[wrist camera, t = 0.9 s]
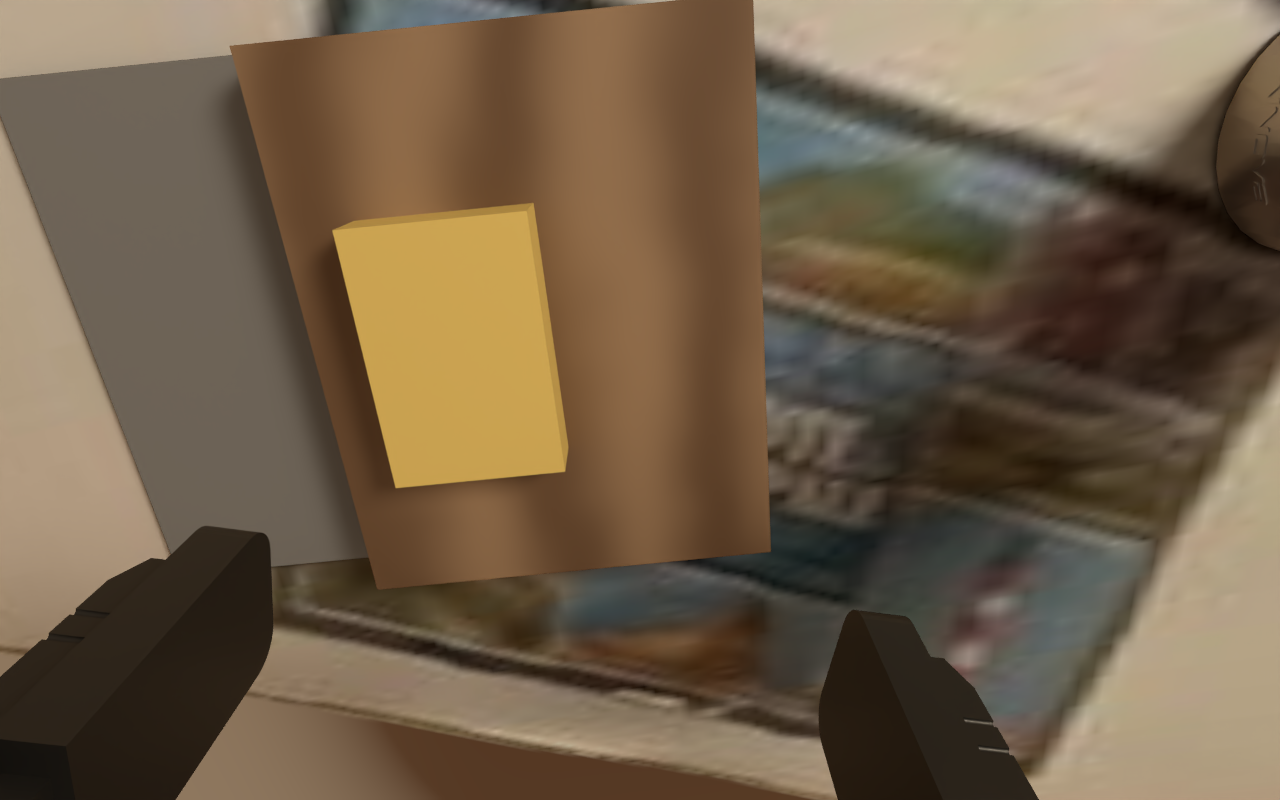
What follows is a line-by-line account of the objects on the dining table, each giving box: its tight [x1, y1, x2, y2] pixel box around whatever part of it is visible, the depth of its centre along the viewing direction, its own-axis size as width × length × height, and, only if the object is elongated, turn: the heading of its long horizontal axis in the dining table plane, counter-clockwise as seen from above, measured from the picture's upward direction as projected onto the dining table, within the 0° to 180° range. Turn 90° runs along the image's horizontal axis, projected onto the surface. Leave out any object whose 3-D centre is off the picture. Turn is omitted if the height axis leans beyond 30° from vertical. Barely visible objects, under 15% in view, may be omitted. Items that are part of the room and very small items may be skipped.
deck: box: [230, 0, 771, 590], centre depth 27 cm, size 16×20×3 cm
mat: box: [0, 55, 369, 567], centre depth 29 cm, size 9×20×1 cm, turn 5°
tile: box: [332, 203, 569, 488], centre depth 25 cm, size 6×9×2 cm, turn 5°
